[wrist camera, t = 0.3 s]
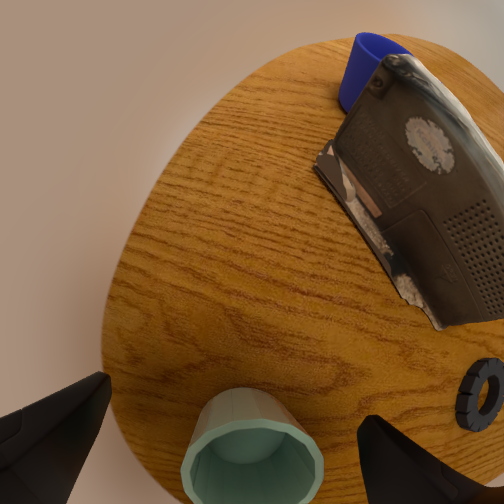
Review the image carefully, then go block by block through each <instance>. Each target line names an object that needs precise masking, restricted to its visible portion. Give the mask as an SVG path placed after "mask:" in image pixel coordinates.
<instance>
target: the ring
mask: <svg viewBox="0 0 504 504" xmlns="http://www.w3.org/2000/svg"><path fill="white" fill-rule="evenodd" d="M467 375H468V376H464V379H463V381H462V384H461V386H460V388H459V391H460V392H461V394H458V395H457V402H456V409H455V410H456V411H458V412H457V413H456V418H457V422H458V424H459V425H460V427H461V428H464V429H466V430H469V431H473V432H480V431H482V430H484V429H486V428H487V427H488V425H490V424H491V423H492V422H493V421H494V419H495V418H496V417H497V415H498V414H497V412H500V409H501V407H502V404H503V402H504V397H503V395H504V363H503V362H502V361H501V360H500V359H499V358H484V359H481V360H478V361H477V362H475V363H474V364H473V365H472V367H471V368H470V369H469V370H468V371H467ZM487 378H488V382H489V392H488V396H487V399H486V401H485V404H484V405H483V407H482V408H481V409H480V410H479V412H478V407H477V404H478V397H479V393H480V391H481V388H482V386H483V384H484V382H485V381H486V380H487Z"/></svg>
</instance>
